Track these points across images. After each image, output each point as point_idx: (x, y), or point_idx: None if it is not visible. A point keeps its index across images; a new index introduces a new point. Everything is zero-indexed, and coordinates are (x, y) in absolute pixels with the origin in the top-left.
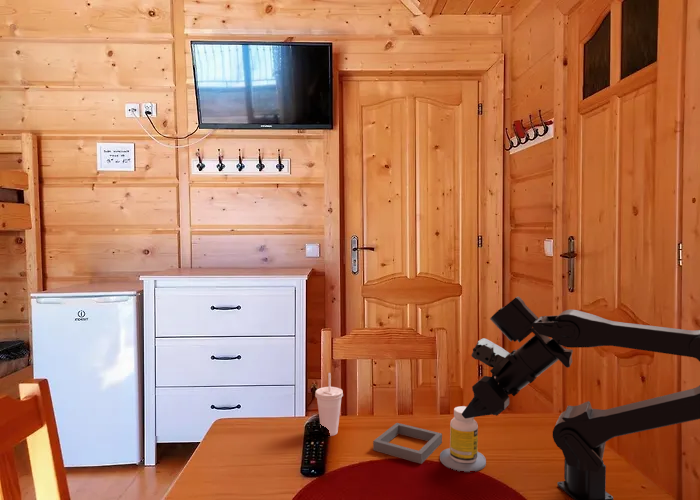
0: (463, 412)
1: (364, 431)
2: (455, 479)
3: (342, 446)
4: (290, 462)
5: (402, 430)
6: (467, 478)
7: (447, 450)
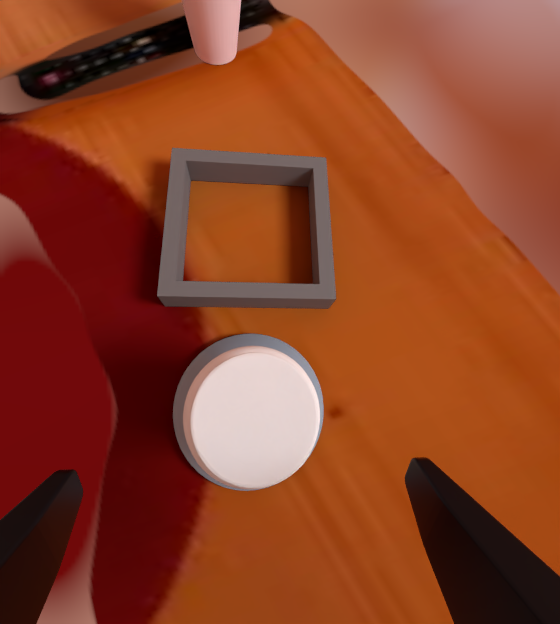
0: (33, 495)
1: (269, 111)
2: (120, 430)
3: (160, 101)
4: (24, 43)
5: (310, 188)
6: (144, 463)
7: (271, 346)
